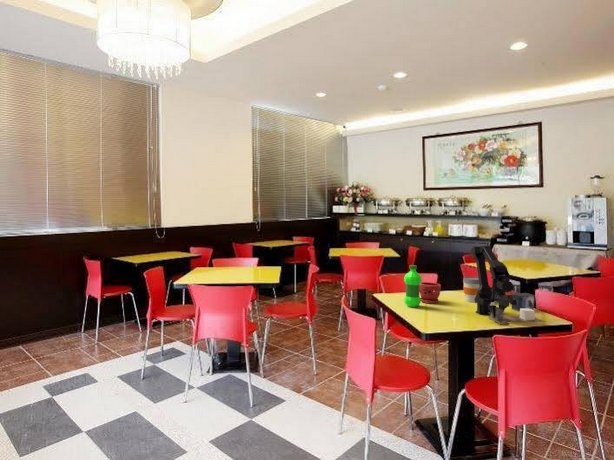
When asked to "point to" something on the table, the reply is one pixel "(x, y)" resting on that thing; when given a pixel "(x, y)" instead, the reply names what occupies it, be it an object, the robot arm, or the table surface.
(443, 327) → the table surface
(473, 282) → the reusable coffee cup
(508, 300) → the robot arm
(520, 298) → the small box
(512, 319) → the walnut strip
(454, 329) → the table surface
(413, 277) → the plastic bottle
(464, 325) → the table surface
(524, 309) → the off-white block
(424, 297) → the plant pot
